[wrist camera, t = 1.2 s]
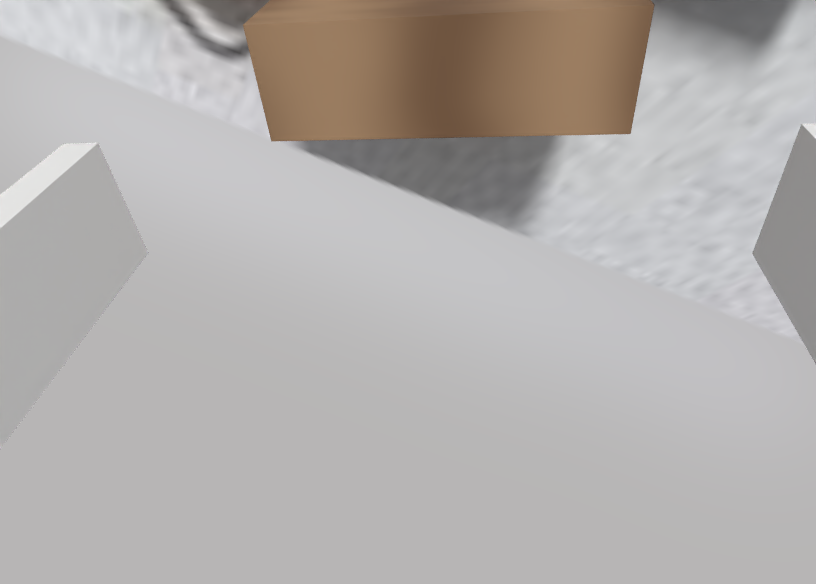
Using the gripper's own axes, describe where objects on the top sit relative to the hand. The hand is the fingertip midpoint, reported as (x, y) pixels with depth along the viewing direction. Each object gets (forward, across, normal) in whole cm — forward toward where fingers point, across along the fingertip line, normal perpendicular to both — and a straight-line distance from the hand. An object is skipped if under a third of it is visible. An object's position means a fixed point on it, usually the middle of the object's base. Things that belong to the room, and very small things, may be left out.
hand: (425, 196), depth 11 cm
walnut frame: (+15, 0, 0) cm, 15 cm away
